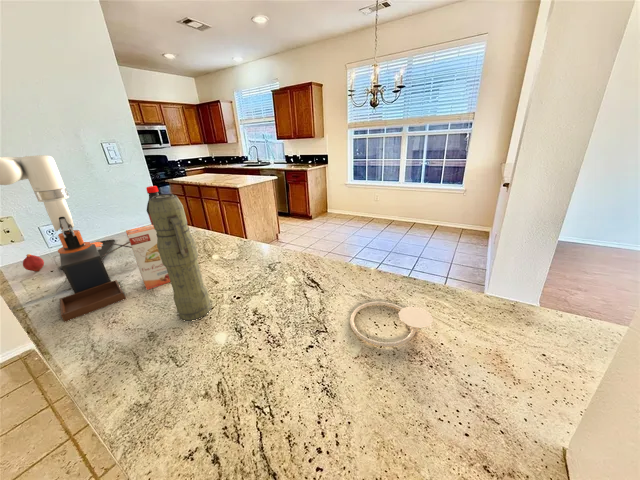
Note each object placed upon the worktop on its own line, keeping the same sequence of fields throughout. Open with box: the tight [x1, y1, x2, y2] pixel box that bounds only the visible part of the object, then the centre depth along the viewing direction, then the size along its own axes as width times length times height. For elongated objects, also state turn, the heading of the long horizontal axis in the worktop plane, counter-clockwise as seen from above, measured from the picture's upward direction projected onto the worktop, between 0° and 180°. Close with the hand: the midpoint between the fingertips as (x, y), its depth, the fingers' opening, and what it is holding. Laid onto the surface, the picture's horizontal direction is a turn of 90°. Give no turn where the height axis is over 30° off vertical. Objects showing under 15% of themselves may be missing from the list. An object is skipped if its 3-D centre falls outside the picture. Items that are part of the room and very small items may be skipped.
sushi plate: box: [59, 239, 132, 271], centre depth 122 cm, size 29×30×4 cm
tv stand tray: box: [59, 279, 127, 323], centre depth 85 cm, size 15×12×2 cm
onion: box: [22, 253, 45, 273], centre depth 107 cm, size 6×6×8 cm
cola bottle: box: [145, 185, 160, 225], centre depth 114 cm, size 8×8×30 cm
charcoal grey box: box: [59, 244, 112, 294], centre depth 95 cm, size 10×16×12 cm, turn 44°
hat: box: [57, 229, 92, 254], centre depth 92 cm, size 9×9×6 cm
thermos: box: [148, 193, 212, 322], centre depth 71 cm, size 9×12×35 cm
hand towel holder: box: [349, 301, 434, 348], centre depth 68 cm, size 17×4×21 cm
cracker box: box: [125, 224, 171, 291], centre depth 92 cm, size 14×6×21 cm, turn 129°
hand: (73, 244), depth 93 cm, fingers closed on hat, 5 cm apart
